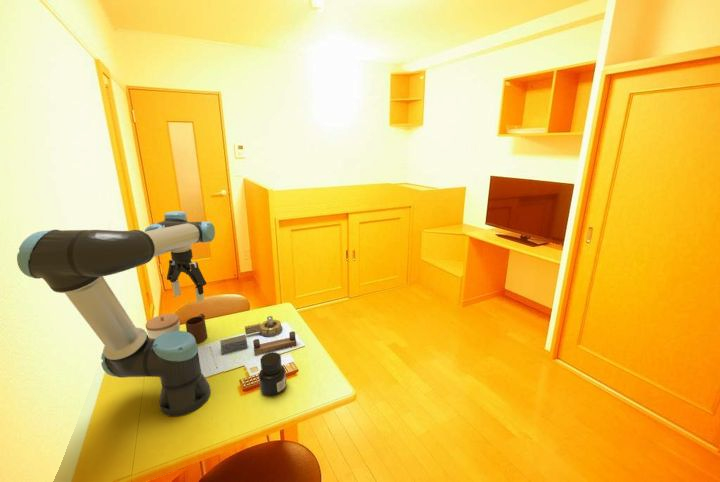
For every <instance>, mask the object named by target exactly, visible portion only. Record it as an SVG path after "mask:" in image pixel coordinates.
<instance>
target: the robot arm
mask: <svg viewBox="0 0 720 482" xmlns="http://www.w3.org/2000/svg"><path fill="white" fill-rule="evenodd" d="M163 218H164V220H162V221H159V222H156V223H152V224H150V225H148V226H147V227H146V228H145V229H144V230H140V229H131V230H109V229H105V230H104V229H80V230H79V229H78V230H77V229H76V230H75V229H74V230H73V229H72V230H70V229H69V230H67V229H66V230H65V229H64V230H61V229H51V230H50V229H49V230H40V231H36V232H33V233H31V234H30V235H29V236H27V237H26V238H25V239H24V240H23V241H22V242H21V244H20V246H19V247H18V252H17V254H16V262H17V266H18V268H19V271H20V272H21V273H22V274H24V275H25V276H27V277H29V278H32V279H38V280H39V279H42V280H44V282H45V283H46V284H47V285H48V287H49V288H50V289H51V290H52V291H53V292H55V293H59V294H65V295H66V297H67V299H68V300H69V301H70V302H71V303H72V305H73V306H74V307H75V308H76V310H77V311H78V312H79V314H80V315H81V316H82V318H83V319H84V320H85V322H86V323H87V324H88V325H89V327H90V328H91V329H92V331H93V332H94V333H95V335H96V336H97V337H98V339H99V341H101V343H102V344H103V346H104V347H103V349H102V353H101V357H100V359H101V360H102V362H100V364H101V367H102V370H103V371H104V372H105V373H106V374H107V375H109V376H111V377H115V378H121V379H122V378H149V377H151V378H154V377H156V378H157V377H158V378H160V379H159V380H160V384H161V390H160V395H159V400H158V406H159V410H160V412H161V413H162V414H163V415H165V416H167V417H182V416H185V415H188V414H191V413H192V412H195V411H197V410H198V409H200V408H201V407H202V406H203V405H205V403H206V402H207V401H208V400H209V399H210V396H211V387H210V386H211V385H210V383H209V381H208V379H207V378H206V376H205V375H204V374H203V372H202V367H201V361H200V355H199V346H198V343H197V344H196V340H195V338H194V336H193V335H192V334H190V333H188V332H187V331H185V330H179V331H171V332H170V333H168V332H167V333H164V334H162V335H160V336H158V337H157V338H150V337H149V335H148V332H147V331H145V329H143V328H142V327H136V325H135V324H134V322H133V321H132V319H131V318H130V317H129V315H128V313H127V312H126V310H125V308H124V307H123V305H122V303H121V302H120V300H119V299H118V297H117V295H115V293H114V291H113V290H112V288H111V287H110V285H109V284H108V282H107V281H106V279H105V277H106V276H111V275H114V274H118V273H123V272H125V271H129V270H131V269H134V268H137V267H141V266H143V265H146V264H148V263H150V262H151V261H152V260H153V259H154V258H155V257H158V256H161V255H164V254H168V253H169V252H170V257H171V259H169V260H168V264H169V265H168V270H167V275H166V280H167V281H169V282H171V283H170V284H171V288H172V291H173V292H172V293H173V296H174V298H177V297H180V296H182V291H181V285H180V281H179V277H180V275H181V273H183V274H185V275H187V276H189V278H190V280H191V282H192V283H193V285H195V286H194V289H195V296H196V301H197V303H201V302H202V301H204V300H205V296H204V293H205V292H204V286H206V285H207V283H208V282H206V279H205V277H204V275H203V273H202V272H201V270H200V268H199V263H198V262H196V261H195V262H192V259H193V257H194V256H193V251H192V249H191V248H192V245H194V244H199V243H211V242H212V241H214V239H215V237H216V236H215V235H216V229H215V225H214V224H213V223H212V222H211V221H204V220H203V221H189V220H188V217H187V214H186V212H185V211H183V210H182V211H181V210H179V211H177V210H176V211H175V210H174V211H167V212H165V213H164V217H163Z"/></svg>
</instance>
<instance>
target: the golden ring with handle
mask: <svg viewBox="0 0 720 482" xmlns="http://www.w3.org/2000/svg"><path fill="white" fill-rule="evenodd" d="M273 325H274V326H275V327H272V328H266V327H267V326H268V322H267V320H264V321H263V322H262V323H256V324H251V325H247V326H246V325H245V326H244V331H245V335H250V334H251V335H252V334H256V333H260V332H262V333H264V334H272V333H276V332H278V331H279V330H280V329H281V326H282V323H281V321H280V320H278V319H273Z"/></svg>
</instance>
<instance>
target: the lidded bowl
mask: <svg viewBox="0 0 720 482" xmlns="http://www.w3.org/2000/svg"><path fill="white" fill-rule="evenodd" d="M180 325H181V324H180V317H179V315H178V314H175V313H165V314H161V315H157V316H154V317H152V318H150V319H149V320H148V321H147V322H146V323H145V328H146V333H147V335H148V337H149V338H157V337H158V336H160V335H162V334H164V333H167V332H168V333H170V332H171V331H180Z"/></svg>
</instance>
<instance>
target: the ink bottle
mask: <svg viewBox="0 0 720 482" xmlns="http://www.w3.org/2000/svg"><path fill="white" fill-rule="evenodd" d="M259 361H260V371H259V373H258V379H259V388H260V389H259V390H260V392H261V394H262V395H263V396H266V397H273V396H277V395H280V394H282V393H283V392H284V391H285V390H286V388H287V377H286V376H287V375H286V368H285V367H284V366H283V364H282V355H281V354H280V353H278V352H275V351H273V352H268V353H264V355H263V356H261V357H260V360H259Z"/></svg>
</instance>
